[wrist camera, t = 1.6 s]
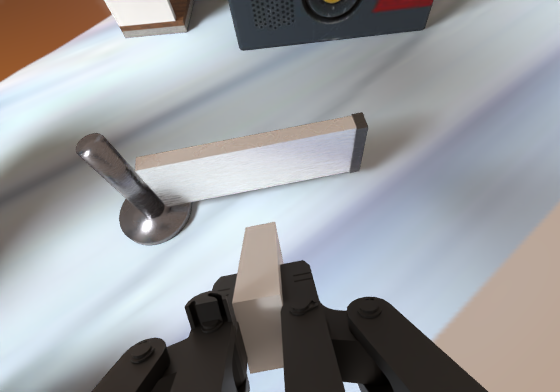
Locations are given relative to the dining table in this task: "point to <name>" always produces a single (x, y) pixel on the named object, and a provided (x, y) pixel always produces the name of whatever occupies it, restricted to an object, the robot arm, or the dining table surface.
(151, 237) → the panel post
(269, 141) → the swing panel
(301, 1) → the power unit
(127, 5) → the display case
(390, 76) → the dining table surface
